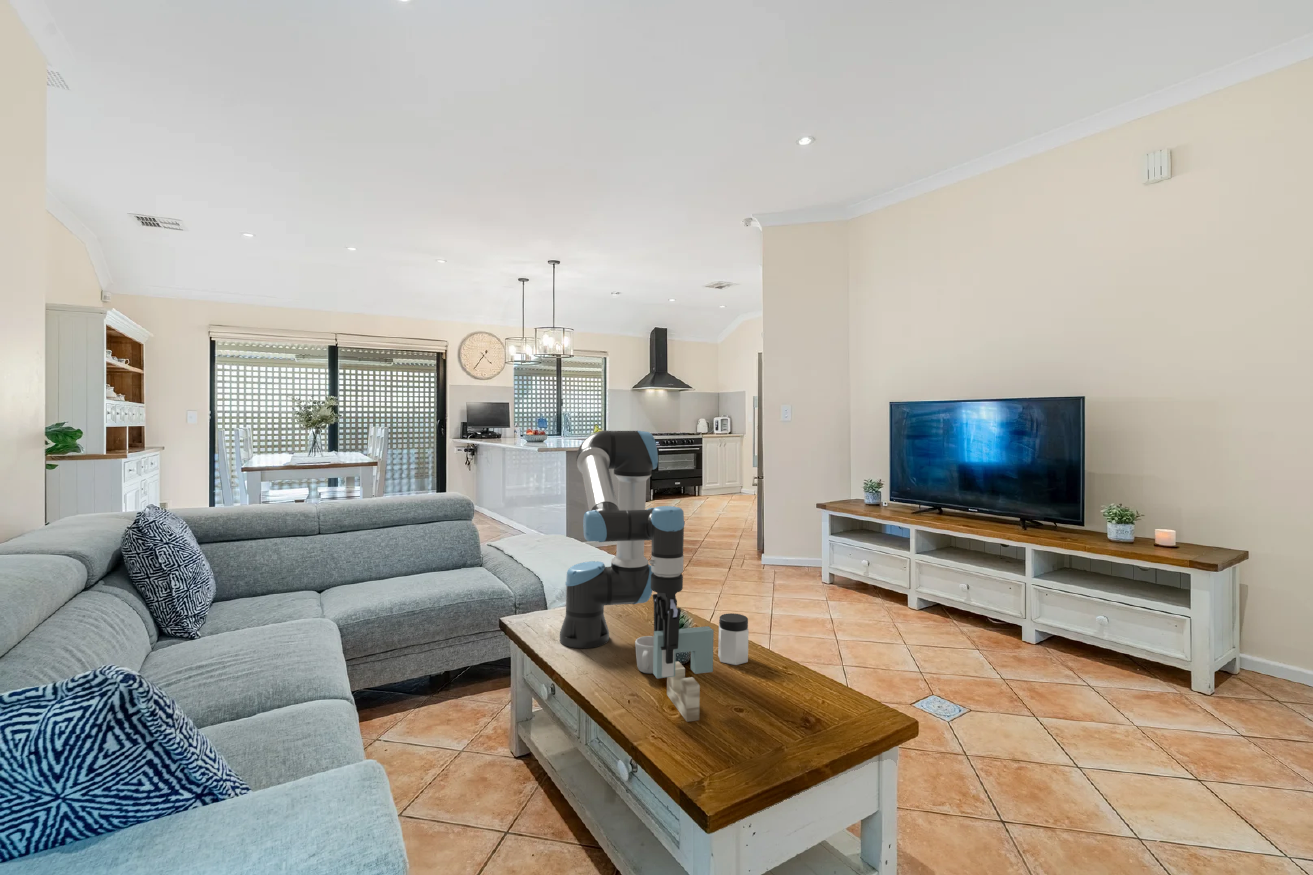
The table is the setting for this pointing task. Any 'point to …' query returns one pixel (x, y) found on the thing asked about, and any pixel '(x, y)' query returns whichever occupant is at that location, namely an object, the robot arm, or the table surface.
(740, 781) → the table surface
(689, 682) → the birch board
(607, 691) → the table surface
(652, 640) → the cup
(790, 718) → the table surface
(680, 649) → the teal board
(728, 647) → the jar
